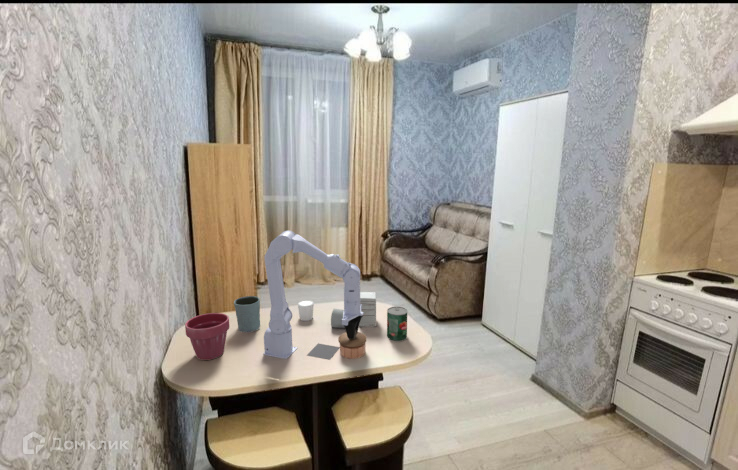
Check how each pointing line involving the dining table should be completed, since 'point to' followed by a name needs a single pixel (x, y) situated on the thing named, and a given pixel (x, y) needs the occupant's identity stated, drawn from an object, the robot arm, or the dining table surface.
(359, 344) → the walnut lid
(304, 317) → the shot glass
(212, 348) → the plant pot
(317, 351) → the charcoal mat
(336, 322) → the ceramic mug
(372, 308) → the supplement box
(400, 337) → the canned tomato
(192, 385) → the dining table surface
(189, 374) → the dining table surface
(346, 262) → the robot arm
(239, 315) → the teal cup
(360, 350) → the terracotta bowl
